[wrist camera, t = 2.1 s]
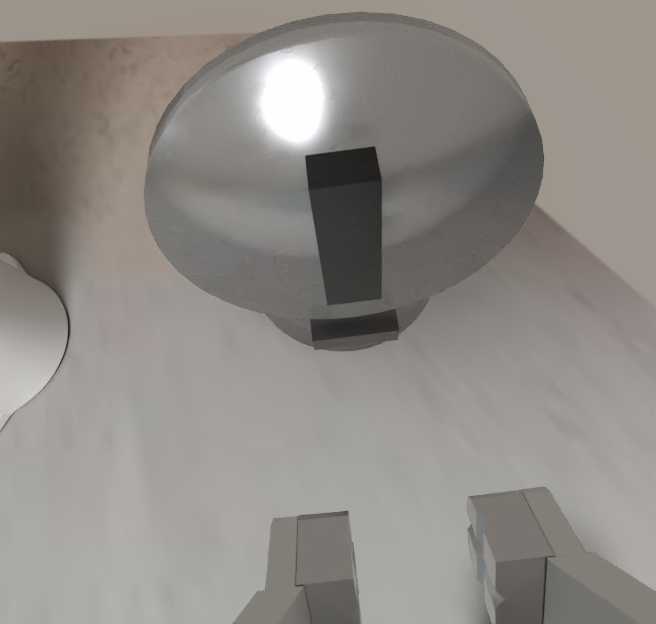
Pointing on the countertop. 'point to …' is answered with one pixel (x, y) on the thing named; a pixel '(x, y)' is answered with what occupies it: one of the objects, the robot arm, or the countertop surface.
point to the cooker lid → (342, 166)
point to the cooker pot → (350, 328)
